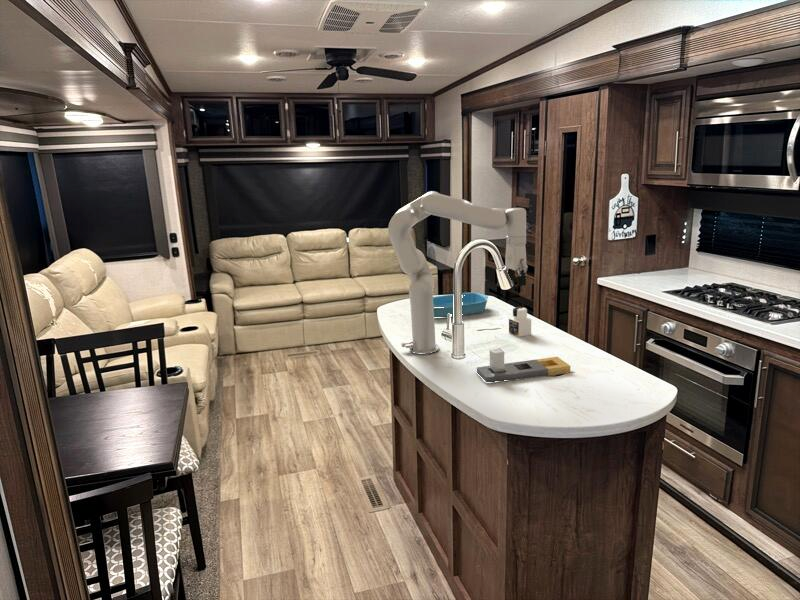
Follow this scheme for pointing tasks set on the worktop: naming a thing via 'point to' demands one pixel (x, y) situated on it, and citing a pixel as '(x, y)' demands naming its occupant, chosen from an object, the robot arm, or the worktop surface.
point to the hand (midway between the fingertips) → (516, 282)
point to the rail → (526, 369)
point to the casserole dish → (470, 305)
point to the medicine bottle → (520, 322)
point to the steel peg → (496, 360)
